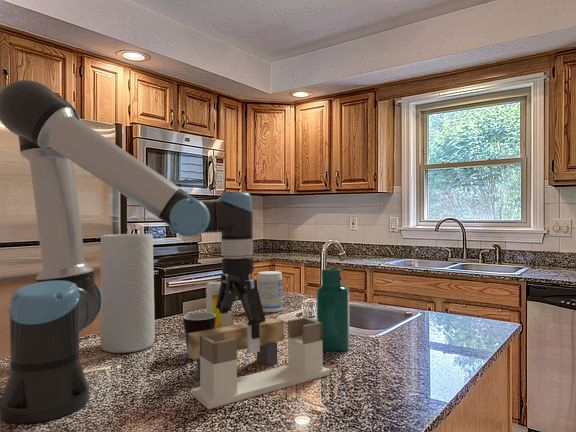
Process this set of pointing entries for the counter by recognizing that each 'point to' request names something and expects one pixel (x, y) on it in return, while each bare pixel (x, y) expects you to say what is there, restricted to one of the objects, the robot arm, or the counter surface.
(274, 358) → the blocks
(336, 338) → the green square bottle
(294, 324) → the bracket stand
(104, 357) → the counter surface
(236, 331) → the oak rail
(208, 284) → the white yellow bottle
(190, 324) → the coffee mug
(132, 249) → the paper towel roll
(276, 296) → the supplement tub
